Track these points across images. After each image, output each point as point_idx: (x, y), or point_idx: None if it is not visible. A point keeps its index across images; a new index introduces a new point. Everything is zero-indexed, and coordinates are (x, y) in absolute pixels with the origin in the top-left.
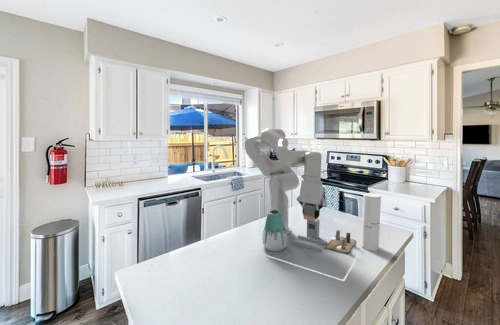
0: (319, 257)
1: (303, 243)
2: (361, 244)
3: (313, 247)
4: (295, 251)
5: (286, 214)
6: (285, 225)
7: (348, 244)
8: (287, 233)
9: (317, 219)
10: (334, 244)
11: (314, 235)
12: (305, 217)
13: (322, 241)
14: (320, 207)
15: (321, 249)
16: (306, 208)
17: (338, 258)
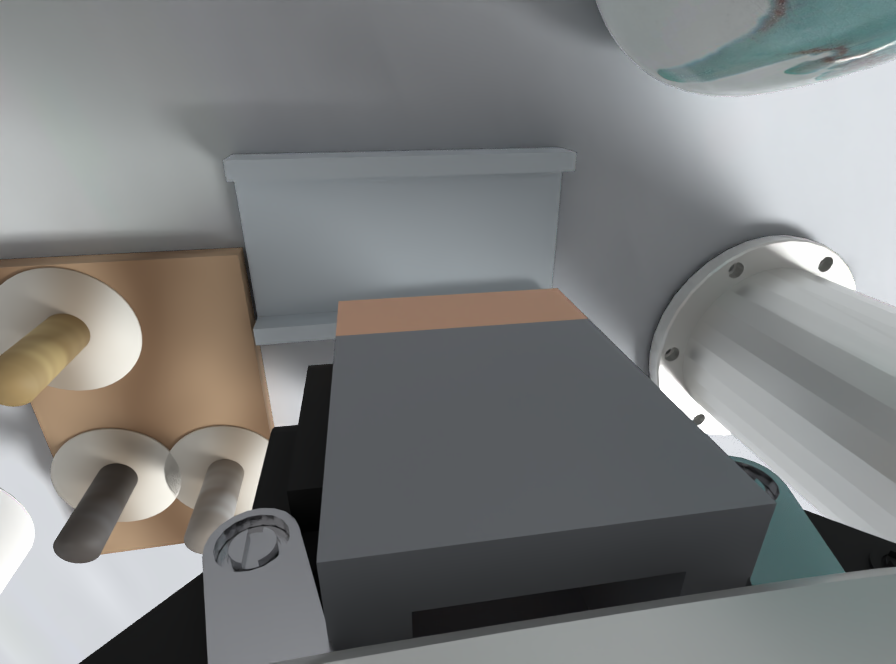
0: (188, 33)
1: (442, 164)
2: (14, 517)
3: (318, 155)
4: (467, 14)
5: (832, 444)
6: (739, 359)
7: (85, 439)
8: (668, 318)
9: None
10: (192, 364)
11: None
12: (530, 303)
13: (301, 330)
14: (138, 656)
15: (227, 168)
16: (603, 422)
17: (19, 141)
